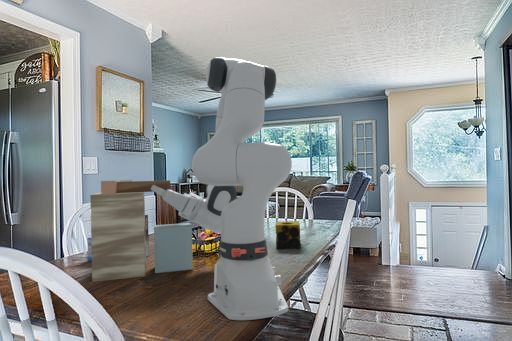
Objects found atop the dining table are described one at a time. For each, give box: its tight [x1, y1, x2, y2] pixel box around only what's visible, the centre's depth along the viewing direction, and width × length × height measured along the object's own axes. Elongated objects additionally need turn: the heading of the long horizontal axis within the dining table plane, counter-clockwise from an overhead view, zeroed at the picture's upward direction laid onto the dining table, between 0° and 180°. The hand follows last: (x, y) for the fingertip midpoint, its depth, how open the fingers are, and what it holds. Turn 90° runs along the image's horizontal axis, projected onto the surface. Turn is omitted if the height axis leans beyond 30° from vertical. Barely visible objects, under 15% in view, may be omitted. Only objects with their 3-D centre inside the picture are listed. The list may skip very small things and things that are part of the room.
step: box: [153, 222, 194, 274], centre depth 116 cm, size 8×12×14 cm, turn 106°
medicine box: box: [86, 237, 92, 262], centre depth 130 cm, size 8×4×9 cm, turn 62°
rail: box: [117, 179, 171, 193], centre depth 114 cm, size 3×19×4 cm, turn 106°
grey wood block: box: [89, 192, 147, 283], centre depth 112 cm, size 13×15×26 cm
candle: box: [275, 220, 301, 250], centre depth 146 cm, size 10×10×10 cm
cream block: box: [117, 179, 133, 182], centre depth 116 cm, size 4×4×4 cm
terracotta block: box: [100, 180, 118, 194], centre depth 107 cm, size 4×4×4 cm
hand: (151, 186), depth 115 cm, fingers open, 8 cm apart
